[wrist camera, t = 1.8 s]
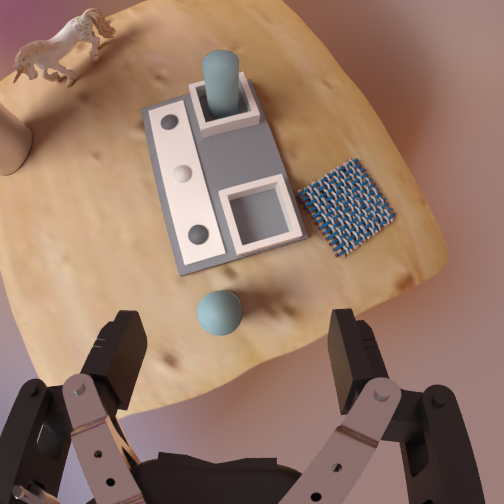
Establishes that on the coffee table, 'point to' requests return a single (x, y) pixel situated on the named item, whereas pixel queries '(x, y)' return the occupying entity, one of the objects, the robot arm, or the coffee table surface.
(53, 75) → the unicorn figurine
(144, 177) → the coffee table surface
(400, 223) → the coffee table surface
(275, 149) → the peg board
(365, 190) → the woven mat
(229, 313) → the teal peg
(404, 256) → the coffee table surface
